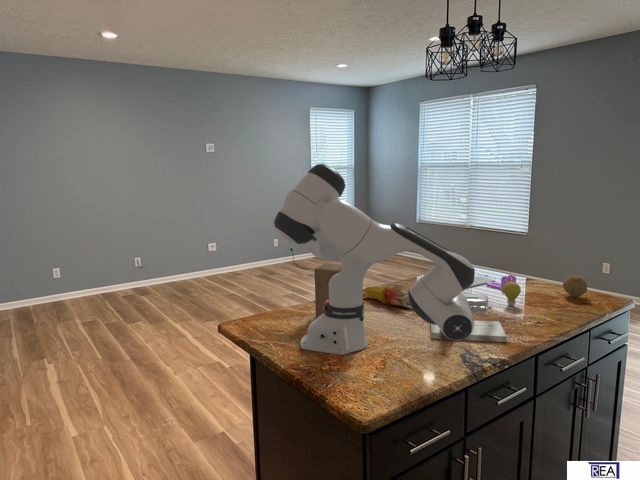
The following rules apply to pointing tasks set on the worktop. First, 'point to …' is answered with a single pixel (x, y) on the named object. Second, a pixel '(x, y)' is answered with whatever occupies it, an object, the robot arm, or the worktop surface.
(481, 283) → the baseboard molding
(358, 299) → the robot arm
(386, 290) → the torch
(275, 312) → the worktop surface
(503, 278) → the bracket
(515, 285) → the light bulb
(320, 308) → the wooden block
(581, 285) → the natural sponge
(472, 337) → the birch board
